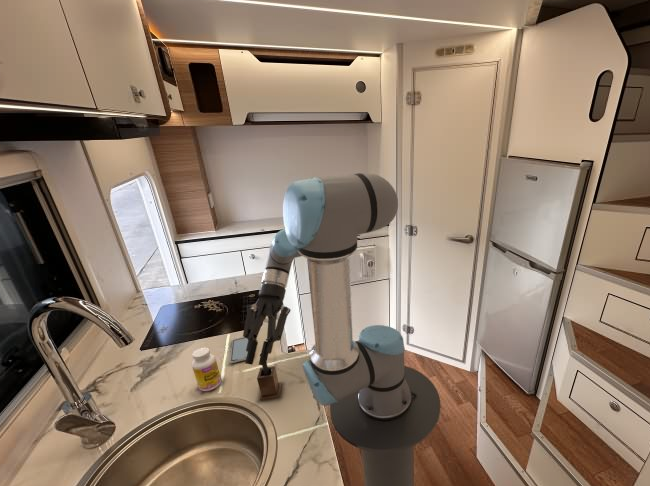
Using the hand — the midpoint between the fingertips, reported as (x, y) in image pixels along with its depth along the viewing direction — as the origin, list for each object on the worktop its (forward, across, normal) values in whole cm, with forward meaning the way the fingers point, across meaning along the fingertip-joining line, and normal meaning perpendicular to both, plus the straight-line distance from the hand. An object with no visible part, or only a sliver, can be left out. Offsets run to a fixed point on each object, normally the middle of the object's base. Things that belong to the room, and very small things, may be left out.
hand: (255, 364), depth 89 cm
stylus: (+6, 0, -12) cm, 13 cm away
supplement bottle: (+7, +22, -13) cm, 26 cm away
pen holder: (+7, 0, -12) cm, 14 cm away
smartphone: (-6, +22, -26) cm, 34 cm away
